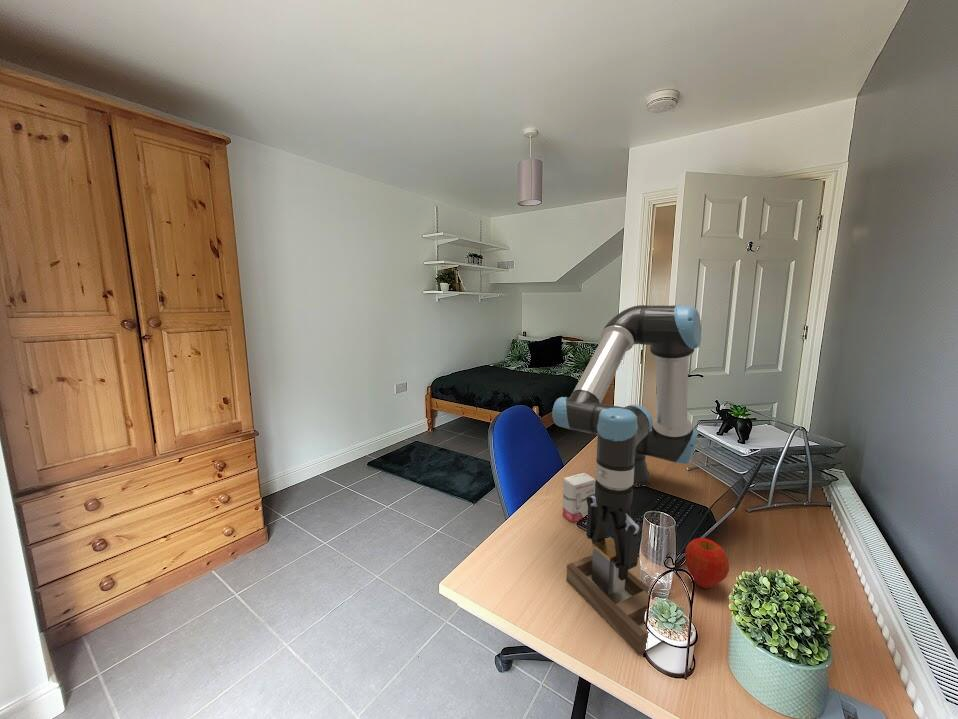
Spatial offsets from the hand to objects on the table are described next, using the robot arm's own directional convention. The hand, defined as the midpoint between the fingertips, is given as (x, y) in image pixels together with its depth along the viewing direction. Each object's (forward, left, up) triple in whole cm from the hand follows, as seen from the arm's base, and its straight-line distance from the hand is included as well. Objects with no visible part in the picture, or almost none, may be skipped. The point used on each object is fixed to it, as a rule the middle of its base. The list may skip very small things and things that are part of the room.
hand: (608, 580), depth 84 cm
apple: (-21, +8, -4) cm, 23 cm away
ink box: (-15, -27, -4) cm, 31 cm away
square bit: (0, 0, -1) cm, 1 cm away
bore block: (0, +3, -3) cm, 4 cm away
